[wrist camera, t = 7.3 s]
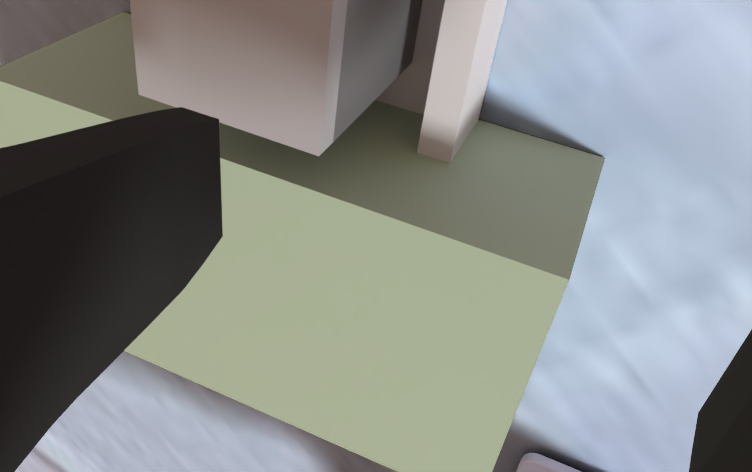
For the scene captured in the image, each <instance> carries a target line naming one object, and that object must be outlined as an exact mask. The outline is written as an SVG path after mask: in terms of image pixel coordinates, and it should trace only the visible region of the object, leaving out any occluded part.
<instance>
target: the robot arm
mask: <svg viewBox="0 0 752 472" xmlns="http://www.w3.org/2000/svg"><path fill="white" fill-rule="evenodd" d="M222 237H223V230H222V199H221V168H220V138H219V119H217V118H214V117H211V116H208V115H205V114H201V113H198V112H195V111H192V110H189V109H186V108H183V107H179V108H171V109H164V110H159V111H153V112H149V113H144V114H139V115H135V116H130V117H126V118H122V119H118V120H114V121H110V122H106V123H101V124H97V125H93V126H89V127H85V128H81V129H77V130H73V131H69V132H65V133H61V134H57V135H53V136H49V137H45V138H41V139H37V140H33V141H29V142H25V143H21V144H17V145H12V146H8V147H3V148H0V472H14V471H15V470H16V469H17V468H18V466H19V465H20V464H21V463H22V462H23V460H24V459H25V458H26V457H27V455H28V454H29V453H30V452H31V450H32V449H33V448H34V447H35V445H36V444H37V443H38V442H39V440H40V439H41V438H42V437H43V436H44V434H45V433H46V432H47V431H48V429H49V428H50V427H51V426H52V425H53V423H54V422H55V421H56V420H57V419H58V418H59V417H60V416H61V415H62V414H63V413H64V411H65V410H66V409H67V408H68V407H69V406H70V405H71V404H72V403H73V402H74V400H75V399H76V398H77V397H78V396H79V395H80V394H81V393H82V392H83V391H84V390H85V389H86V388H87V387H88V386H89V385H90V384H91V383H92V382H93V381H94V380H95V379H96V378H97V377H98V376H99V375H100V374H101V373H102V372H103V371H104V370H105V369H106V368H107V367H108V366H109V365H110V364H111V363H112V362H113V361H114V360H115V359H116V358H117V357H118V356H119V355H120V354H121V353H122V352H123V351H124V350H125V349H126V348H127V347H128V346H129V345H130V344H131V343H132V342H133V341H134V340H135V339H136V338H137V337H138V336H139V335H140V334H141V333H142V332H143V331H144V330H145V329H146V328H147V327H148V326H149V325H150V324H151V323H152V322H153V321H154V320H155V319H156V318H157V317H158V316H159V315H160V313H161V312H162V311H163V310H164V309H165V308H166V307H167V306H168V305H169V304H170V303H171V302H172V301H173V300H174V299H175V298H176V297H177V296H178V295H179V294H180V293H181V292H182V291H183V289H184V288H185V287H186V286H187V284H188V283H189V282H190V281H191V279H192V278H193V277H194V275H195V274H196V273H197V271H198V270H199V269H200V268H201V266H202V265H203V263H204V262H205V261H206V259H207V258H208V256H209V255H210V254H211V252H212V251H213V249H214V248H215V246H216V245H217V244H218V242H219V241H220V239H221V238H222ZM516 472H581V471H579V470H577V469H574V468H572V467H569V466H567V465H565V464H562V463H560V462H557V461H555V460H552V459H550V458H548V457H545V456H543V455H540V454H537V453H527V454H525V455H524V456H523V457H522V459H521V461H520V463H519V465H518V468H517V470H516ZM689 472H752V330H751V332H750V333H749V335H748V336H747V338H746V339H745V341H744V343H743V344H742V346H741V347H740V349H739V350H738V352H737V353H736V355H735V357H734V358H733V360H732V361H731V363H730V364H729V366H728V368H727V369H726V371H725V372H724V374H723V375H722V377H721V378H720V380H719V382H718V383H717V385H716V386H715V388H714V389H713V391H712V392H711V394H710V396H709V397H708V399H707V400H706V402H705V403H704V405H703V407H702V408H701V410H700V411H699V413H698V418H697V424H696V430H695V436H694V442H693V448H692V455H691V462H690V469H689Z"/></svg>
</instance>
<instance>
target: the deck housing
mask: <svg viewBox="0 0 752 472" xmlns="http://www.w3.org/2000/svg"><path fill="white" fill-rule="evenodd" d="M506 5H507V0H423V1H422V7H421V13H420V19H419V25H418V31H417V36H416V42H415V48H414V54H413V60H412V63H411V64H410V65H409V66H408V67H407V68H406V69H405V70H404V71H403V72H402V73H401V74H400V75H399V76H398V77H397V78H396V79H395V80H394V81H393V82H392V83H391V84H390V85H389V86H388V87H387V88H386V89H385V90H384V91H383V92H382V93H381V94H380V95H379V96H378V97H377V98H376V99H375V100H374V101H373V102H372V103H371V104H370V105H369V106H368V107H367V108H366V110H365V111H364V112H363V113H362V114H361V115H360V116H359V117H358V118H357V119H356V120H355V121H354V122H353V123H352V124H351V125H350V126H349V127H348V128H347V129H346V130H345V131H344V132H343V133H342V134H341V135H340V136H339V137H338V138H337V139H336V140H335V141H334V142H333V143H332V144H331V145H330V146H329V147H328V148H327V149H326V150H325V151H324V152H323V153H322V154H321V155H320V156H316V155H313V154H310V153H307V152H304V151H301V150H298V149H296V148H293V147H290V146H287V145H284V144H281V143H278V142H275V141H272V140H269V139H266V138H264V137H261V136H258V135H255V134H252V133H249V132H246V131H243V130H240V129H237V128H234V127H231V126H229V125H226V124H223V123H220V122H219V138H220V168H221V199H222V230H223V237H222V238H221V239H220V241H219V242H218V244H217V245H216V246H215V248H214V249H213V251H212V252H211V254H210V255H209V256H208V258H207V259H206V261H205V262H204V263H203V265H202V266H201V268H200V269H199V270H198V271H197V273H196V274H195V275H194V277H193V278H192V279H191V281H190V282H189V283H188V284H187V286H186V287H185V288H184V289H183V291H182V292H181V293H180V294H179V295H178V296H177V297H176V298H175V299H174V300H173V301H172V302H171V303H170V304H169V305H168V306H167V307H166V308H165V309H164V310H163V311H162V312H161V313H160V315H159V316H158V317H157V318H156V319H155V320H154V321H153V322H152V323H151V324H150V325H149V326H148V327H147V328H146V329H145V330H144V331H143V332H142V333H141V334H140V335H139V336H138V337H137V338H136V339H135V340H134V341H133V342H132V343H131V344H130V345H129V346H128V347H127V348H126V349H125V350H124V351H125V352H128V353H130V354H132V355H134V356H137V357H139V358H141V359H143V360H146V361H148V362H150V363H152V364H155V365H157V366H159V367H161V368H164V369H166V370H168V371H171V372H173V373H175V374H177V375H180V376H182V377H184V378H186V379H189V380H191V381H193V382H195V383H198V384H200V385H202V386H204V387H207V388H209V389H211V390H213V391H216V392H218V393H220V394H222V395H225V396H227V397H229V398H232V399H234V400H236V401H238V402H241V403H243V404H245V405H247V406H250V407H252V408H254V409H256V410H259V411H261V412H263V413H265V414H268V415H270V416H272V417H274V418H277V419H279V420H281V421H283V422H286V423H288V424H290V425H293V426H295V427H297V428H299V429H302V430H304V431H306V432H308V433H311V434H313V435H315V436H317V437H320V438H322V439H324V440H326V441H329V442H331V443H333V444H335V445H338V446H340V447H342V448H345V449H347V450H349V451H351V452H354V453H356V454H358V455H360V456H363V457H365V458H367V459H369V460H372V461H374V462H376V463H378V464H381V465H383V466H385V467H387V468H390V469H392V470H394V471H396V472H492V471H493V468H494V466H495V463H496V461H497V458H498V456H499V453H500V451H501V448H502V446H503V443H504V441H505V438H506V436H507V433H508V431H509V428H510V426H511V423H512V421H513V418H514V416H515V413H516V411H517V408H518V406H519V403H520V401H521V398H522V396H523V393H524V391H525V388H526V386H527V384H528V381H529V379H530V376H531V374H532V371H533V369H534V366H535V364H536V361H537V359H538V356H539V354H540V351H541V349H542V346H543V344H544V341H545V339H546V336H547V334H548V331H549V329H550V326H551V324H552V321H553V319H554V316H555V314H556V311H557V309H558V306H559V304H560V301H561V299H562V296H563V294H564V291H565V289H566V286H567V284H568V281H569V278H570V275H571V272H572V268H573V265H574V261H575V258H576V255H577V251H578V248H579V244H580V241H581V238H582V234H583V231H584V227H585V224H586V221H587V217H588V214H589V210H590V207H591V203H592V200H593V197H594V193H595V190H596V186H597V183H598V180H599V176H600V173H601V169H602V166H603V163H604V159H605V158H603V157H600V156H597V155H593V154H590V153H587V152H584V151H580V150H577V149H574V148H570V147H567V146H564V145H561V144H557V143H554V142H551V141H547V140H544V139H541V138H537V137H534V136H531V135H528V134H524V133H521V132H518V131H514V130H511V129H508V128H505V127H501V126H498V125H495V124H491V123H488V122H485V121H481V120H479V116H480V112H481V108H482V104H483V100H484V95H485V91H486V87H487V83H488V79H489V75H490V71H491V66H492V62H493V58H494V54H495V50H496V46H497V42H498V38H499V33H500V29H501V25H502V21H503V17H504V13H505V9H506ZM171 108H176V107H173V106H170V105H167V104H164V103H162V102H159V101H156V100H153V99H150V98H147V97H144V96H141V95H139V93H138V83H137V73H136V63H135V52H134V42H133V32H132V22H131V14H129V13H126V12H121V13H119V14H116V15H114V16H112V17H110V18H107V19H105V20H103V21H101V22H98V23H96V24H94V25H92V26H89V27H87V28H85V29H83V30H80V31H78V32H76V33H74V34H71V35H69V36H67V37H65V38H62V39H60V40H58V41H56V42H53V43H51V44H49V45H47V46H44V47H42V48H40V49H38V50H35V51H33V52H31V53H29V54H26V55H24V56H22V57H20V58H17V59H15V60H13V61H11V62H8V63H6V64H4V65H2V66H0V148H3V147H8V146H12V145H17V144H21V143H25V142H29V141H33V140H37V139H41V138H45V137H49V136H53V135H57V134H61V133H65V132H69V131H73V130H77V129H81V128H85V127H89V126H93V125H97V124H101V123H106V122H110V121H114V120H118V119H122V118H126V117H130V116H135V115H139V114H144V113H149V112H153V111H159V110H164V109H171Z"/></svg>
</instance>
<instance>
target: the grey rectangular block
mask: <svg viewBox="0 0 752 472" xmlns="http://www.w3.org/2000/svg"><path fill="white" fill-rule="evenodd" d="M129 1H130V11H131V22H132V32H133V42H134V52H135V63H136V73H137V83H138V93H139V95H141V96H144V97H147V98H150V99H153V100H156V101H159V102H162V103H164V104H167V105H170V106H173V107H176V108H179V107H183V108H186V109H189V110H192V111H195V112H198V113H201V114H205V115H208V116H211V117H214V118H217V119H219V122H220V123H223V124H226V125H229V126H231V127H234V128H237V129H240V130H243V131H246V132H249V133H252V134H255V135H258V136H261V137H264V138H266V139H269V140H272V141H275V142H278V143H281V144H284V145H287V146H290V147H293V148H296V149H298V150H301V151H304V152H307V153H310V154H313V155H316V156H320V155H321V154H322V153H323V152H324V151H325V150H326V149H327V148H328V147H329V146H330V145H331V144H332V143H333V142H334V141H335V140H336V139H337V138H338V137H339V136H340V135H341V134H342V133H343V132H344V131H345V130H346V129H347V128H348V127H349V126H350V125H351V124H352V123H353V122H354V121H355V120H356V119H357V118H358V117H359V116H360V115H361V114H362V113H363V112H364V111H365V110H366V108H367V107H368V106H369V105H370V104H371V103H372V102H373V101H374V100H375V99H376V98H377V97H378V96H379V95H380V94H381V93H382V92H383V91H384V90H385V89H386V88H387V87H388V86H389V85H390V84H391V83H392V82H393V81H394V80H395V79H396V78H397V77H398V76H399V75H400V74H401V73H402V72H403V71H404V70H405V69H406V68H407V67H408V66H409V65H410V64H411V63H412V60H413V54H414V48H415V42H416V36H417V31H418V25H419V19H420V13H421V7H422V1H423V0H129Z"/></svg>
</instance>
